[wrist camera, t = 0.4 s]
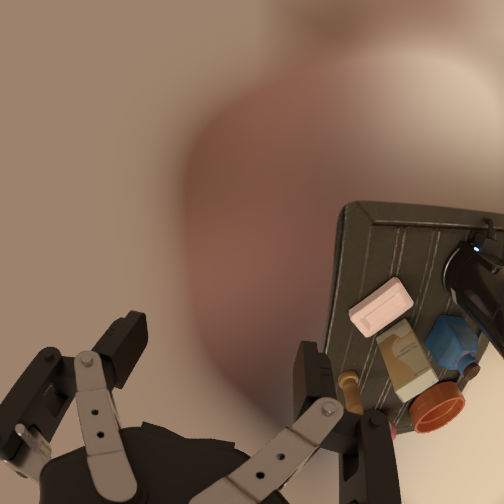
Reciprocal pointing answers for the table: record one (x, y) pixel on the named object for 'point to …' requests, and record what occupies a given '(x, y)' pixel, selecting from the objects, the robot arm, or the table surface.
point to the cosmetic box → (406, 361)
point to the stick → (351, 391)
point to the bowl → (436, 407)
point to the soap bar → (381, 307)
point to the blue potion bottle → (454, 345)
